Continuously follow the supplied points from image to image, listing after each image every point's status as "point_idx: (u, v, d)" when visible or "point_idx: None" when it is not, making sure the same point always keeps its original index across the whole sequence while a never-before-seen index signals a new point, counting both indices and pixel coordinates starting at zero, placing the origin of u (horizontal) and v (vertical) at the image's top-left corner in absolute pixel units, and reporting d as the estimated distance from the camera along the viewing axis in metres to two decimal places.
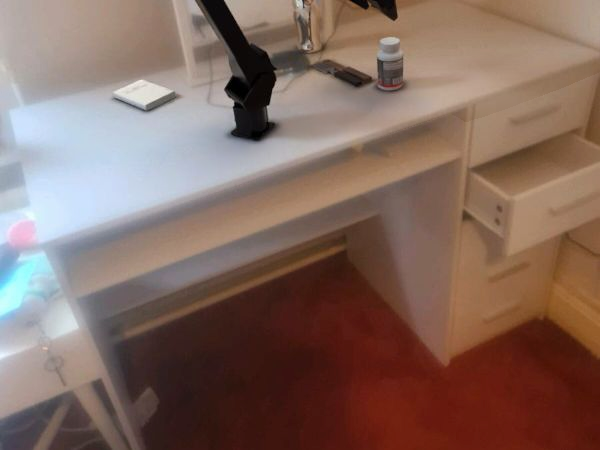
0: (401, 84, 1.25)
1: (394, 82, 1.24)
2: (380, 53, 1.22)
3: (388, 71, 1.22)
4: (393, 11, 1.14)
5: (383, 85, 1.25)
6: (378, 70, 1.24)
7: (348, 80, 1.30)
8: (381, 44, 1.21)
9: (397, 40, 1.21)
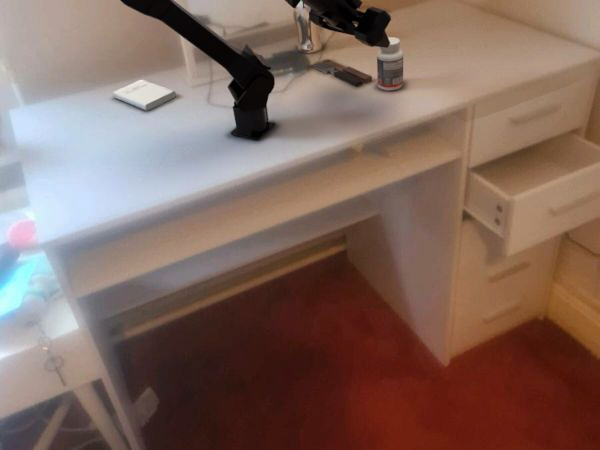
0: (401, 84, 1.25)
1: (394, 82, 1.24)
2: (380, 53, 1.22)
3: (388, 71, 1.22)
4: (384, 40, 1.13)
5: (383, 85, 1.25)
6: (378, 70, 1.24)
7: (348, 80, 1.30)
8: None
9: (397, 40, 1.21)
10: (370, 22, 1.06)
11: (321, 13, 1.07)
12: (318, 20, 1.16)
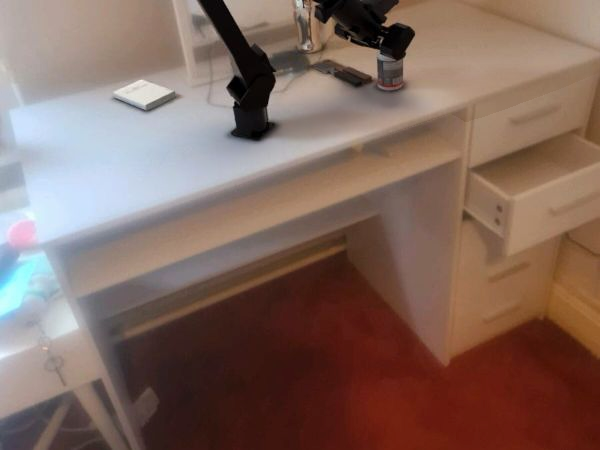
0: (401, 84, 1.25)
1: (394, 82, 1.24)
2: None
3: (388, 71, 1.22)
4: None
5: (383, 85, 1.25)
6: (378, 70, 1.24)
7: (348, 80, 1.30)
8: None
9: None
10: (395, 37, 1.11)
11: (348, 28, 1.12)
12: (343, 34, 1.21)
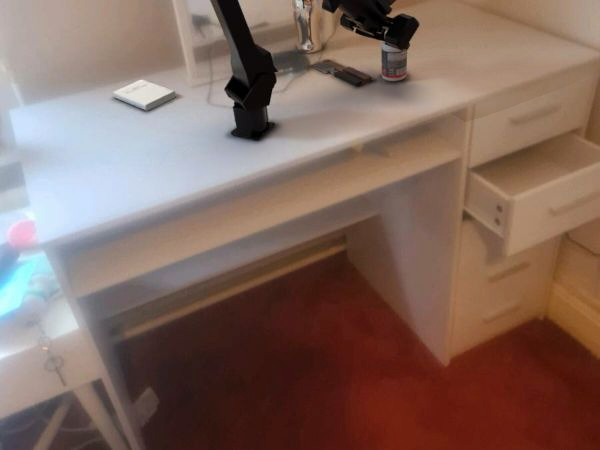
0: (405, 75, 1.28)
1: (398, 72, 1.27)
2: (384, 44, 1.25)
3: (392, 62, 1.25)
4: None
5: (387, 76, 1.28)
6: (382, 61, 1.27)
7: (348, 80, 1.30)
8: None
9: None
10: (400, 27, 1.13)
11: (354, 18, 1.15)
12: (349, 25, 1.24)
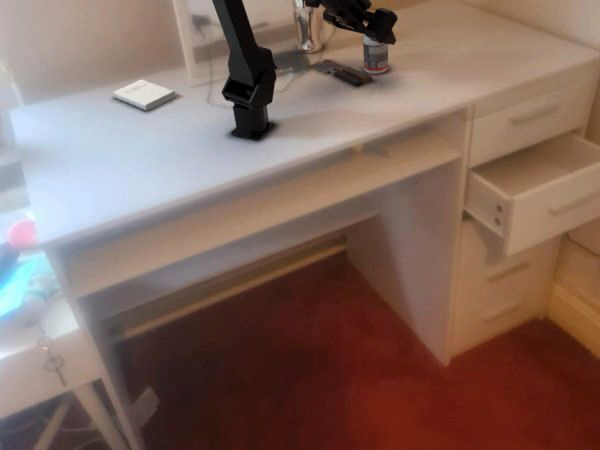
0: (386, 68, 1.32)
1: (379, 65, 1.31)
2: (366, 38, 1.29)
3: (374, 55, 1.30)
4: (391, 38, 1.25)
5: (369, 69, 1.32)
6: (364, 54, 1.31)
7: (348, 80, 1.30)
8: None
9: None
10: (379, 21, 1.18)
11: (335, 13, 1.20)
12: (331, 20, 1.28)
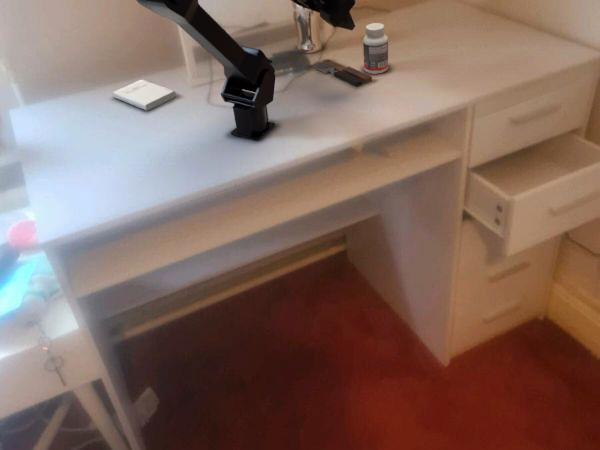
0: (386, 68, 1.32)
1: (379, 65, 1.31)
2: (366, 38, 1.29)
3: (374, 55, 1.30)
4: (349, 22, 1.18)
5: (369, 69, 1.32)
6: (364, 54, 1.31)
7: (348, 80, 1.30)
8: (367, 29, 1.28)
9: (382, 26, 1.28)
10: (335, 3, 1.11)
11: None
12: None
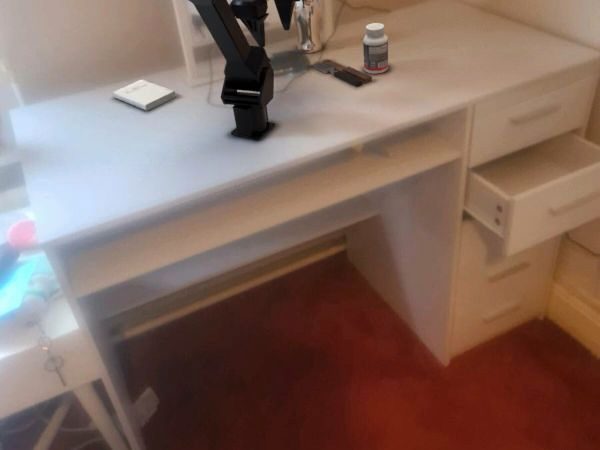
0: (386, 68, 1.32)
1: (379, 65, 1.31)
2: (366, 38, 1.29)
3: (374, 55, 1.30)
4: (258, 36, 1.14)
5: (369, 69, 1.32)
6: (364, 54, 1.31)
7: (348, 80, 1.30)
8: (367, 29, 1.28)
9: (382, 26, 1.28)
10: None
11: None
12: None
